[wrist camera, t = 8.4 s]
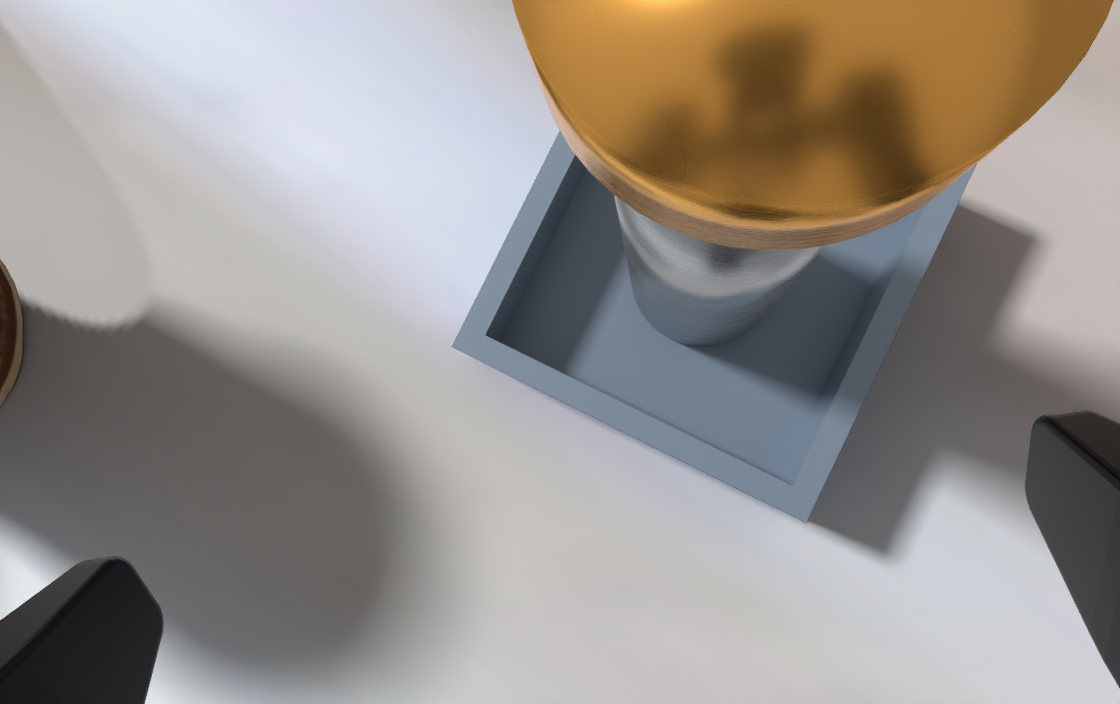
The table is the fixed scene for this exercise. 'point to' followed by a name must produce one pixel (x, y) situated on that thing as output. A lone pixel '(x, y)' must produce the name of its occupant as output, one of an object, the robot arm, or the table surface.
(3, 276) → the coffee cup
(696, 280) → the stop pin
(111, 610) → the robot arm
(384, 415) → the table surface
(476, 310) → the tray
